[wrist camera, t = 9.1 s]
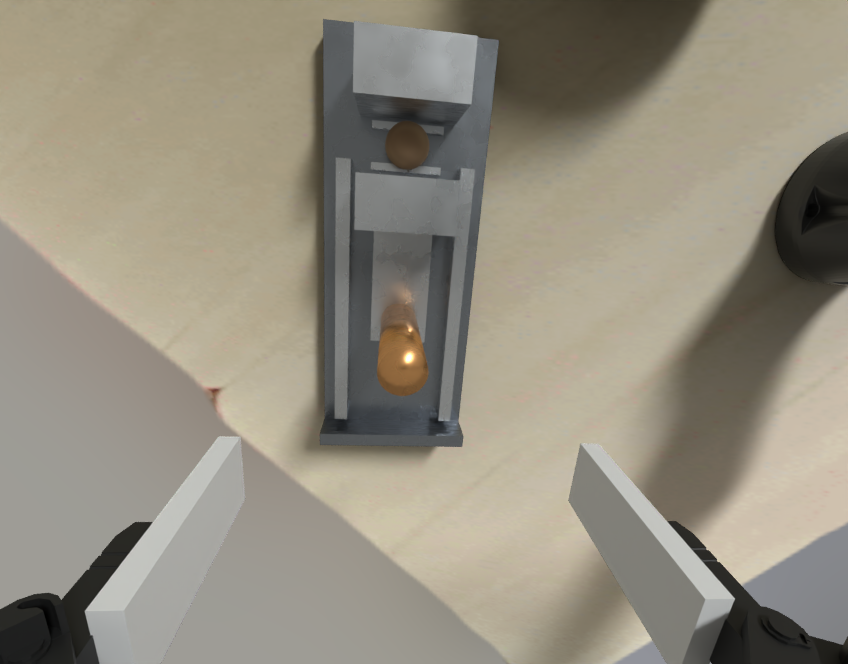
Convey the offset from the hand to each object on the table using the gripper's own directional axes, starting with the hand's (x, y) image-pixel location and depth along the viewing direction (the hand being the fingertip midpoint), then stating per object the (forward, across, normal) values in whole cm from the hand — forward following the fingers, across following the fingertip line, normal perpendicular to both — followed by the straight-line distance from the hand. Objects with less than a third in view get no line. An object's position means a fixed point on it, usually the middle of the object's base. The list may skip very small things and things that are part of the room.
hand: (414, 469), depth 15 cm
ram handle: (+24, 0, +5) cm, 24 cm away
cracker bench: (+26, 0, +5) cm, 27 cm away
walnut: (+24, 0, +15) cm, 28 cm away
